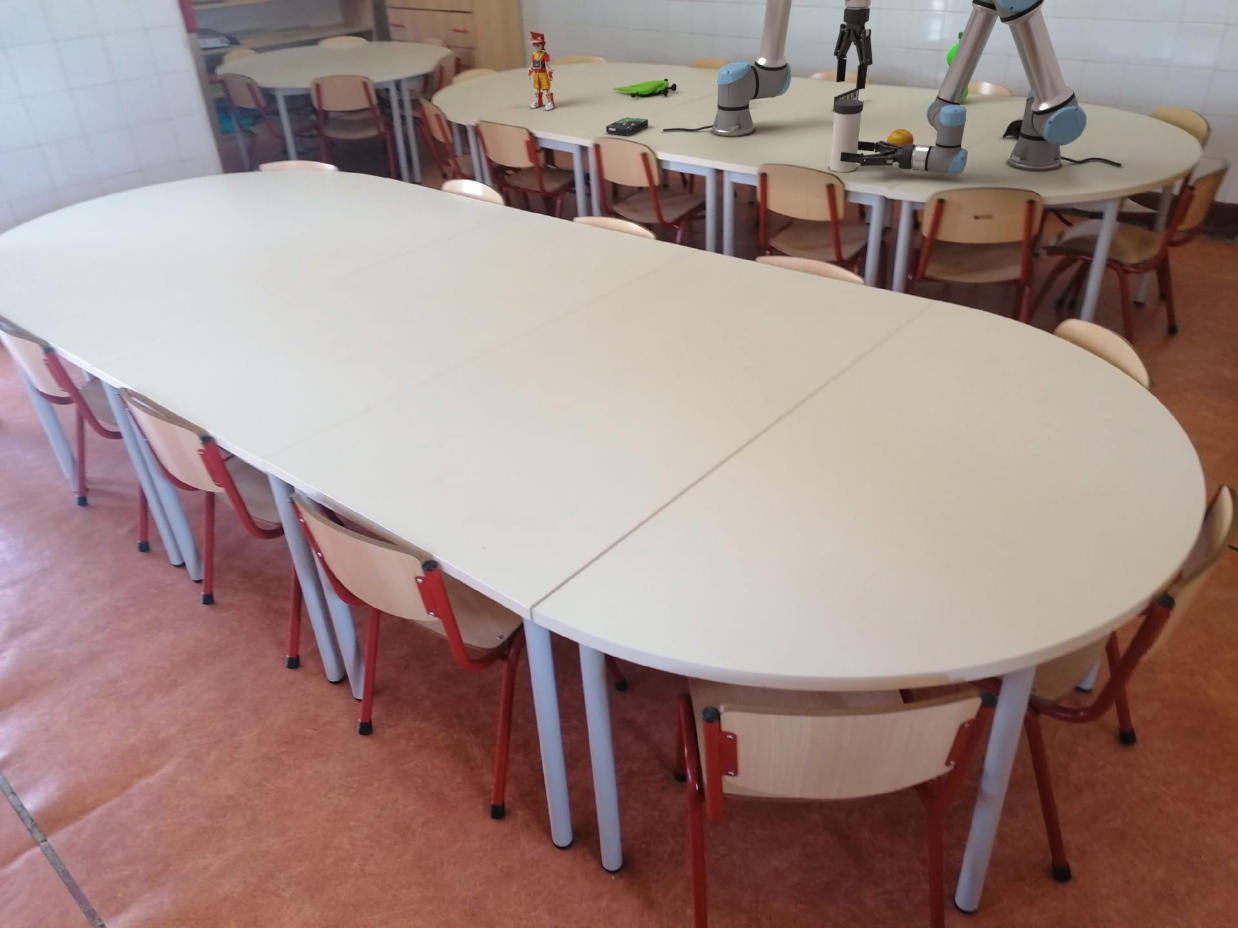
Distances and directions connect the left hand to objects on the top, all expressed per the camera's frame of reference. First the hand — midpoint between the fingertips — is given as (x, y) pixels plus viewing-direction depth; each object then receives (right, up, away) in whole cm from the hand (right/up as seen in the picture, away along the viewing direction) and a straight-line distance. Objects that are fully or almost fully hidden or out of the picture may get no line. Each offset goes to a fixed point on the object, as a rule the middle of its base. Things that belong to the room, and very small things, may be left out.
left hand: (850, 85), depth 279 cm
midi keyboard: (+19, +26, +80) cm, 86 cm away
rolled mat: (+75, 0, +39) cm, 84 cm away
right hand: (+2, -17, +10) cm, 20 cm away
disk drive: (-69, +11, +67) cm, 97 cm away
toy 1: (-105, +35, +104) cm, 152 cm away
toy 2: (-62, +47, +118) cm, 142 cm away
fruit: (+23, -12, +26) cm, 37 cm away
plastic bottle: (+61, +26, +76) cm, 101 cm away
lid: (0, -4, +3) cm, 5 cm away
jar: (+1, -21, +15) cm, 26 cm away
